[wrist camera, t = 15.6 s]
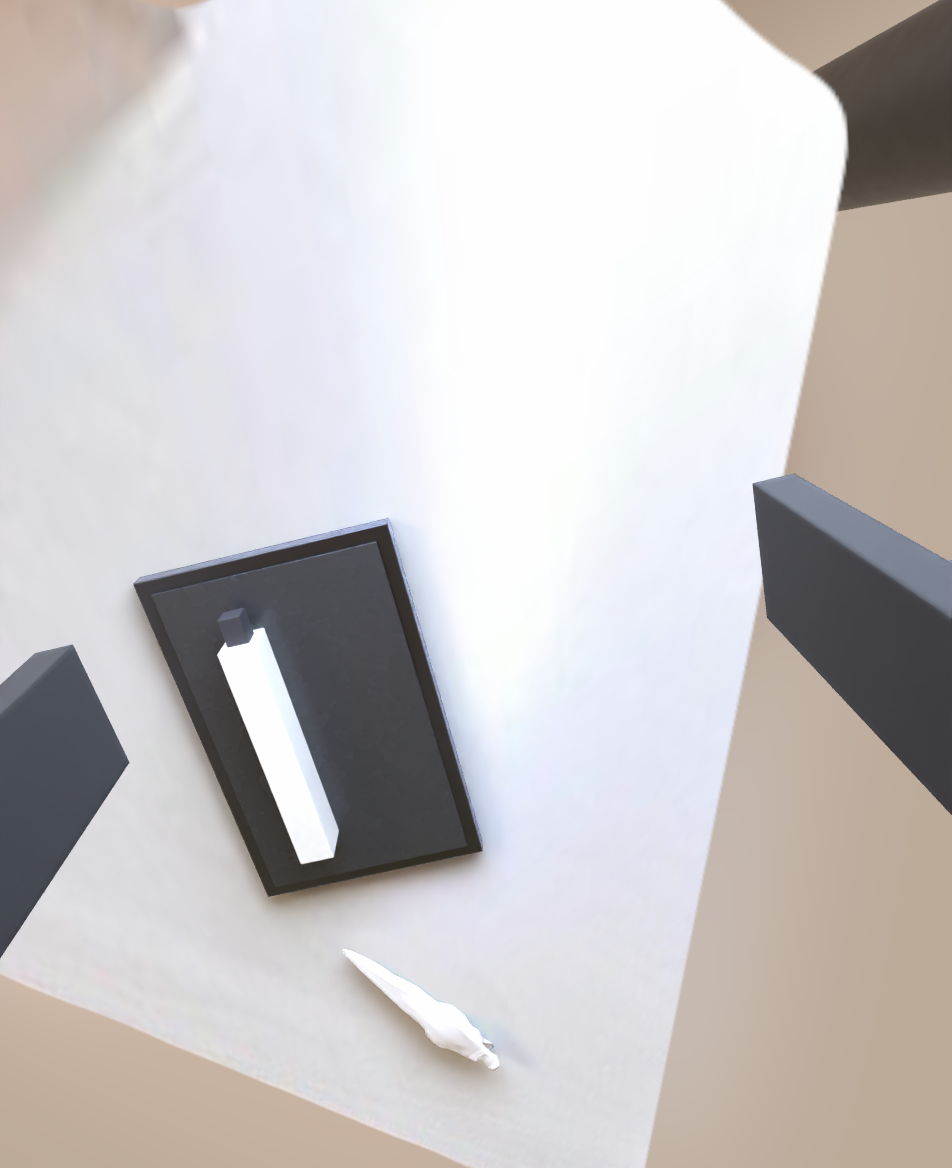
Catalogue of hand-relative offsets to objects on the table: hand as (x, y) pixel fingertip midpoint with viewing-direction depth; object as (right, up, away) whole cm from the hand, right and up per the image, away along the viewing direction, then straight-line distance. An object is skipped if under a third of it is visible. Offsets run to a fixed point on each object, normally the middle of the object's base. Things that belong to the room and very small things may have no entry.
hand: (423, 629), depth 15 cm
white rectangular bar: (-10, -8, +30) cm, 33 cm away
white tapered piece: (-3, -28, +40) cm, 49 cm away
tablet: (-8, -7, +31) cm, 33 cm away
